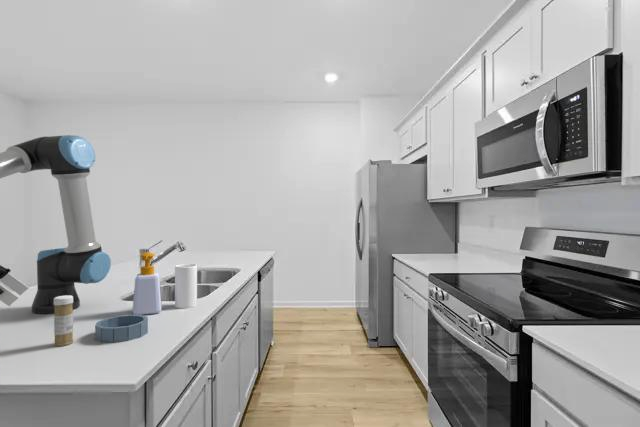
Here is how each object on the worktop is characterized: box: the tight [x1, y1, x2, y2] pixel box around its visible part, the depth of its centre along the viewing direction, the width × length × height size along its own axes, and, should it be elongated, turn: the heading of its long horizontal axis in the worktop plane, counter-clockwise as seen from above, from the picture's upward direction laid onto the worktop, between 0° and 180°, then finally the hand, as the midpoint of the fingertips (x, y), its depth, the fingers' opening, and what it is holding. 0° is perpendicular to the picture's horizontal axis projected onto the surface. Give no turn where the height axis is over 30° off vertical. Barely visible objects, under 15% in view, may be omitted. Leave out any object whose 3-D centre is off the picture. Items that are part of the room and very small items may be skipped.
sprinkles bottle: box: [53, 295, 74, 347], centre depth 107 cm, size 5×5×14 cm
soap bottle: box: [132, 251, 162, 316], centre depth 138 cm, size 10×14×22 cm
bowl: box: [94, 314, 149, 343], centre depth 115 cm, size 14×14×4 cm
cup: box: [174, 263, 198, 309], centre depth 149 cm, size 8×8×16 cm
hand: (19, 296), depth 102 cm, fingers open, 13 cm apart
